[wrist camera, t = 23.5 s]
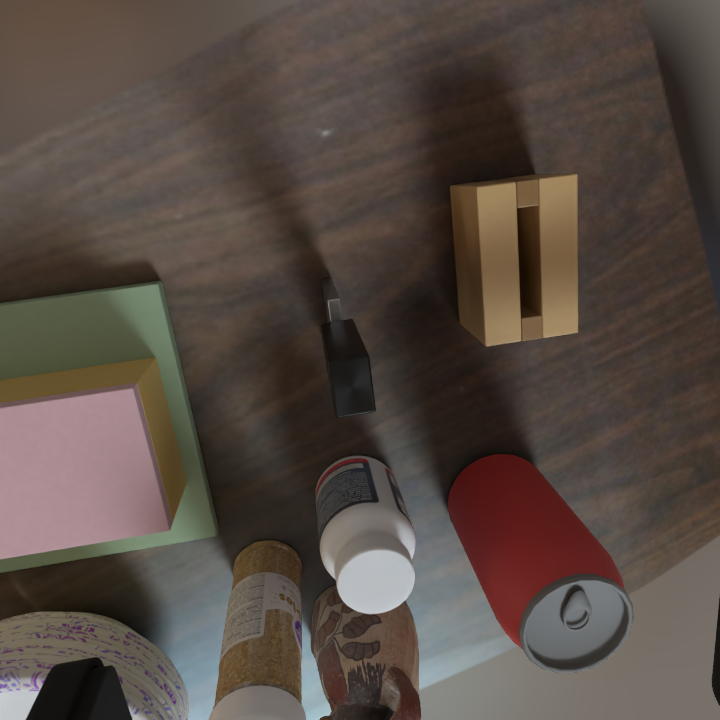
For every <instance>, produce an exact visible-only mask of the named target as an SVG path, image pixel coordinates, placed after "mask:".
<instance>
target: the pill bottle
mask: <svg viewBox="0 0 720 720" xmlns="http://www.w3.org/2000/svg"><path fill="white" fill-rule="evenodd" d="M316 510H317V522H318V533H319V545H320V553H321V558H322V562H323V564H324V566H325V568H326V570H327V571H328V573H329V574H330V575H331V576H332V577H333V578H334V579H335V580H336V585H337V590H338V593H339V596H340V597H341V599H342V600H343V602H344V603H345V604H346V605H347V606H349V607H350V608H352V609H354V610H356V611H358V612H362V613H366V614H378V613H383V612H387V611H389V610H392V609H394V608H396V607H397V606H399V605H400V604H401V603H403V602H404V601H405V600H406V599H407V597H408V596H409V595H410V593H411V591H412V589H413V586H414V582H415V572H414V568H413V564H412V558H413V555H414V552H415V536H414V531H413V527H412V524H411V521H410V518H409V515H408V513H407V510H406V507H405V504H404V501H403V499H402V496H401V493H400V490H399V488H398V485H397V482H396V480H395V477H394V475H393V474H392V472H391V471H390V470H389V468H388V467H387V466H385V465H384V464H383V463H381V462H380V461H378V460H376V459H373V458H370V457H366V456H350V457H346V458H343V459H340V460H338V461H336V462H335V463H333V464H332V465H330V466H329V467H328V468H327V469H326V470H325V471H324V472H323V474H322V475H321V477H320V479H319V481H318V483H317V487H316Z"/></svg>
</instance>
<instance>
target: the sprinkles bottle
mask: <svg viewBox="0 0 720 720" xmlns="http://www.w3.org/2000/svg"><path fill="white" fill-rule="evenodd" d="M301 576H302V563H301V559H300V557H299V556H298V554H297V553H296V552H295V551H294V550H293V549H292V548H291V547H289V546H288V545H287V544H285V543H281V542H278V541H273V540H268V541H259V542H255V543H253V544H251V545H250V546H248V547H246V548H245V549H244V550H242V551H241V552H240V554H239V555H238V556H237V558H236V560H235V563H234V567H233V577H234V580H233V586H232V593H231V595H230V599H229V604H228V610H227V617H226V623H225V630H224V636H223V643H222V649H221V656H220V663H219V678H218V684H217V691H216V699H215V705H214V707H213V711H212V713H211V715H210V717H209V720H306V715H305V712H304V709H303V707H302V704H301V701H302V695H301V686H302V684H301V660H302V600H301V583H300V581H301Z"/></svg>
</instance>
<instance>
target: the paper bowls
mask: <svg viewBox="0 0 720 720" xmlns="http://www.w3.org/2000/svg"><path fill="white" fill-rule="evenodd" d="M93 657H98V658H100V659H101V660H102V662H103V664H104V666H110V665H112V666H113V667H115V669H116V672H117V674H118V677H119V680H120V683H121V687H122V690H123V693H124V696H125V699H126V702H127V705H128V708H129V711H130V714H131V717H132V720H188V714H189V700H188V694H187V691H186V688H185V685H184V682H183V680H182V678H181V676H180V674H179V672H178V671H177V669H176V668H175V666H174V665H173V663H172V662H171V660H170V659H169V658H168V657H167V656H166V654H165V653H164V652H163V651H162V650H160V649H159V648H158V647H157V646H155V645H154V644H153V643H151V642H150V641H148V640H147V639H146V638H144V637H143V636H141V635H139V634H138V633H136V632H135V631H133V630H132V629H131V628H129V627H128V626H126V625H124V624H123V623H121V622H119V621H116V620H114V619H112V618H109V617H106V616H102V615H98V614H94V613H86V612H33V613H27V614H23V615H18V616H14V617H10V618H6V619H3V620H0V720H26V718H27V716H28V714H29V712H30V710H31V708H32V706H33V704H34V702H35V700H36V698H37V695H38V693H39V691H40V689H41V687H42V685H43V683H44V681H45V679H46V677H47V675H48V673H49V672H50V670H51V668H52V667H53V666H55V665H56V664H60V663H65V662H71V661H76V660H82V659H87V658H93Z"/></svg>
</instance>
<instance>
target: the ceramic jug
mask: <svg viewBox="0 0 720 720" xmlns="http://www.w3.org/2000/svg"><path fill="white" fill-rule="evenodd" d="M311 651H312V653H313V655H314V657H315V659H316V662H317V666H318V671H319V675H320V679H321V684H322V687H323V691H324V694H325V696H326V699H327V700H328V702H329V704H330V707H331V710H332V712H331V714H330V716H324V717H322V718H320V720H420V719H421V708H420V700H419V694H418V690H419V651H418V639H417V633H416V628H415V623H414V619H413V616H412V614H411V611H410V609H409V607H408V605H407V603H406V602H405V601H404V602H403V603H401V604H400V605H399V606H397V607H396V608H394V609H392V610H389V611H387V612H383V613H378V614H366V613H362V612H358V611H356V610H354V609H352V608H350V607H349V606H347V605H346V604H345V603H344V602H343V600H342V599H341V597H340V596H339V593H338V590H337V585H333V586H331V587H329V588H328V589H326V590H325V591H324V592H323V593H322V594H321V595H320V596H319V597H318V598H317V600H316V601H315V604H314V608H313V614H312V629H311Z"/></svg>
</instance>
